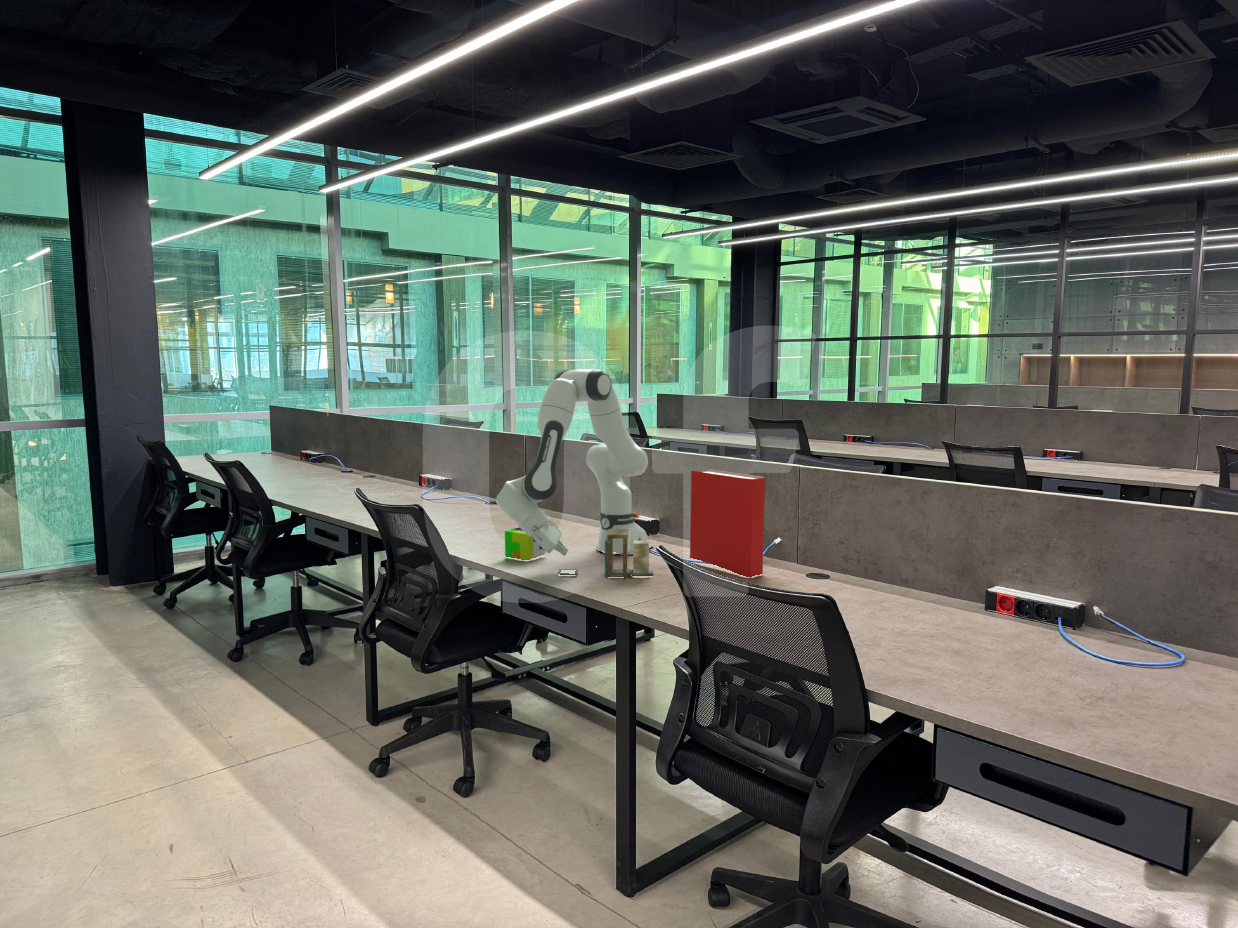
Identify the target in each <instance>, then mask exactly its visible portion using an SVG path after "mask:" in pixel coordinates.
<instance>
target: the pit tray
mask: <svg viewBox="0 0 1238 928" xmlns="http://www.w3.org/2000/svg"><path fill="white" fill-rule="evenodd" d="M561 570H576V571H575V574H569V573H560V572H561ZM577 572H578V573H579V569H573V568H572V569H571V568H569V569H568V568H567V569H566V568H559V570H558V571H557V575H558V574H560V575H577V576H578V574H577Z"/></svg>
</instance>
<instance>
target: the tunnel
mask: <svg viewBox="0 0 1238 928" xmlns="http://www.w3.org/2000/svg"><path fill="white" fill-rule="evenodd" d="M607 538H608V575H607V578H608V577H624V578H627V577H628V575H627V569H628V554H627V538H628V529H608V533H607ZM613 539H623V554H622V569H623V575H612V569H614V568H613V563H614V562H613V559H614V558H613V557H614V554H613ZM627 579H628V578H627Z"/></svg>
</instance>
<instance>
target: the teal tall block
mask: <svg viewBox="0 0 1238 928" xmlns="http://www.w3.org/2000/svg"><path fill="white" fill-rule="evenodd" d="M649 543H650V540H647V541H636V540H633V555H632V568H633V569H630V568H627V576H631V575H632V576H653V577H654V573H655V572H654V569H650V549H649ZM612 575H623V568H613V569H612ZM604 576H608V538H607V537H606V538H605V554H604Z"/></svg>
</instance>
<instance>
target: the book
mask: <svg viewBox="0 0 1238 928" xmlns="http://www.w3.org/2000/svg"><path fill="white" fill-rule="evenodd" d="M765 491H766V477H765V476H761V475H753V474H746V473H739V472H733V471H724V470H719V469H712V468H710V469H709V468H708V469H707V471H698V470H697V471H696V470H691V472H690V524H689V525H690V526H689V527H690V528H689V531H690V533H689V536H690V537H689V539H690V540H689V543H690V544H689V559H690V558H693V559H697V560H701V561H703V562H706V563H711V564H713V565H717V566H719V567H721V568H725V569H727V570H730V571H732V572H734V573H737V574H739V575H743V576H746V577H752V576H755V575H760V574H763V572H764V571H763V569H764V536H765V535H764V533H765V530H764V529H765V497H766V495H765V494H766V493H765Z"/></svg>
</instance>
